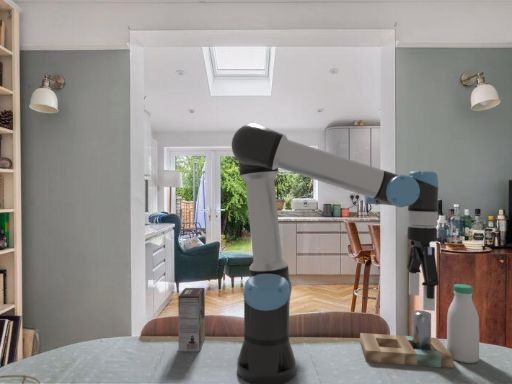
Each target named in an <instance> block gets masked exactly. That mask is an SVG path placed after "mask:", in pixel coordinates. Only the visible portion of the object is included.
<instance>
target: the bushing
mask: <svg viewBox="0 0 512 384" xmlns="http://www.w3.org/2000/svg"><path fill="white" fill-rule="evenodd" d="M412 336H413V349H419V350H431V338H432V314H431V312H428V311H427V310H413V311H412Z"/></svg>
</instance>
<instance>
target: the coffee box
mask: <svg viewBox="0 0 512 384" xmlns="http://www.w3.org/2000/svg"><path fill="white" fill-rule="evenodd" d="M205 288H206V287H185V288H184V289H183V290H182V291H181V292H180V294H179V295H178V297H177V298H178V300H177V301H178V306H177V307H178V311H177V312H178V323H177V324H178V326H177V327H178V352H200V351H201V348H202V346H203V343H204V341H205V337H206V336H205V335H206V334H205V333H206V331H205V330H206V329H205V328H206V327H205V326H206V325H205V323H206V321H205V320H206V319H205V316H206V314H205V311H206V310H205V307H206V306H205V305H206V303H205V302H206V301H205V299H206V298H205V296H206V295H205V293H206V292H205V290H206V289H205Z"/></svg>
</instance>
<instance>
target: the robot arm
mask: <svg viewBox="0 0 512 384" xmlns="http://www.w3.org/2000/svg"><path fill="white" fill-rule="evenodd" d="M231 149H232V150H231V151H232V154H233V156H234V158H235V159H236V160H237V162H238V169H239V170H238V171H239V178H240V179H242V180H243V181H244V182H245V191H246V199H247V209H248V210H247V211H248V219H249V230H250V238H251V239H250V240H251V248H252V249H251V250H252V259H253V262H252V263H251V264H250V266H249V267H248V268H249V269H248V271H249V278H247V279H246V281H245V283H244V288H243V292H242V293H243V299H244V300H243V309H244V310H243V312H244V313H243V330H244V331H243V333H244V334H243V342H242V345H241V348H240V350H239V353H238V354H239V355H238V357H237V363H236V364H237V365H236V369H237V371H236V372H237V374H238V376H239V377H240V378H241V379H243V380H244V381H246V382H248V383H251V384H284V383H286V382H289V381H291V380H292V379H293V378H295V376H296V372H297V362H296V358H295V355H294V352H293V348H292V345H291V342H290V304H291V296H292V289H293V288H292V281H291V280H290V271H289V263H288V262H286V261H285V260H284V259H283V254H282V244H281V234H280V226H279V225H280V223H279V214H278V204H277V196H276V195H277V194H276V186H275V178H276V176H278V174H279V169H282V170H284V171H288V172H290V173H294V174H297V175H300V176H303V177H306V178H308V179H313V180H316V181H318V182H322V183H325V184H327V185H329V186H330V185H331V186H334V187H336V188H340V189H343V190H346V191H349V192H352V193H354V194H358V195H361V196H364V200H365V202H366V204H368V205H376V206H378V205H384V206H385V205H386V206H395V207H398V208H404V207H407V224H408V226H407V240H410V247H409V248H410V249H409V254H408V260H407V266H406V267H407V269H408V272H409V273H408V274H409V277H408V295H409V296H417V297H419V296H420V277H421V276H420V275H421V274H420V273H422V277H423V281H424V282H421V285H422V311H431V312H432V311H433V312H434V311H435V309H436V307H435V306H436V286H439V285H440V282H439V275H438V269H437V268H438V267H437V261H436V249H435V247H434V246H431V243H435V242H437V240H438V229H437V228H436V227H437V226H438V219H440V215H438V201H439V187H440V186H439V177H438V174H437V173H436V172H435V171H433V170H432V171H431V170H429V171H428V170H424V171H423V170H422V171H421V170H420V171H419V170H416V171H410V172H409V173H408V175H405V174H397V173H393V172H390V171H386V170H383V169H380V168H377V167H375V166H371V165H368V164H364V163H362V162H360V161H355V160H352V159H349V158H346V157H345V156H341V155H338V154H334V153H331V152H327V151H324V150H323V149H322V150H321V149H318V148H315V147H311V146H308V145H306V144H303V143H299V142H296V141H293V140H290V139H288V137H287V135H286V134H284V133H281V132H278V131H277V130H276V131H275V130H273V129H271V128H268V127H266V126H264V125H262V124H258V123H248V124H245V125H242V126H241V127H239V128H238V129H237V130H236V132H235V133H234V135H233V137H232V140H231ZM420 268H421V269H420Z"/></svg>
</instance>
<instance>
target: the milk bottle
mask: <svg viewBox="0 0 512 384" xmlns="http://www.w3.org/2000/svg"><path fill="white" fill-rule="evenodd" d="M473 289H474V288H473V286H471V285H469V284H464V283H463V284H462V283H456V284H453V294H454V296H453V299H452V301H451V303H450V305H449V307H448V310H447V314H446V315H447V318H446V321H447V322H446V349H447V350H448V351H449V352H450V353H451V355H452V356H453V361H454V360H455V361H457V362H460V363H464V364H475V363H477V362H479V361H480V318H479V314H478V313H479V312H478V310H477V308H476V306H475V304H474V301H473V298H472V297H473V296H472V295H473V291H474V290H473Z"/></svg>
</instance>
